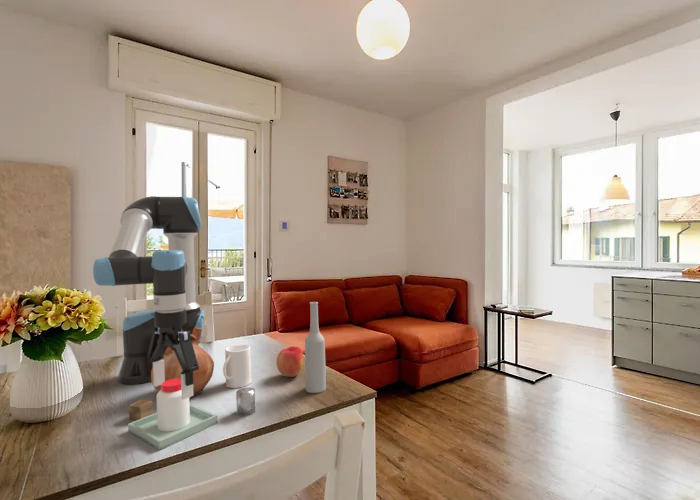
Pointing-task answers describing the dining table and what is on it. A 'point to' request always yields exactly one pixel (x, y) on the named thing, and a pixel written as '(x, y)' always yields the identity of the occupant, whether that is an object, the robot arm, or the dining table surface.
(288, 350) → the apple
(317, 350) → the bottle
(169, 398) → the pill bottle
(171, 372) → the jug
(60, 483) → the dining table surface
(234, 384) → the mug
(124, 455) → the dining table surface
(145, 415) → the walnut block
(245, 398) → the grey tin
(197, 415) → the tray
